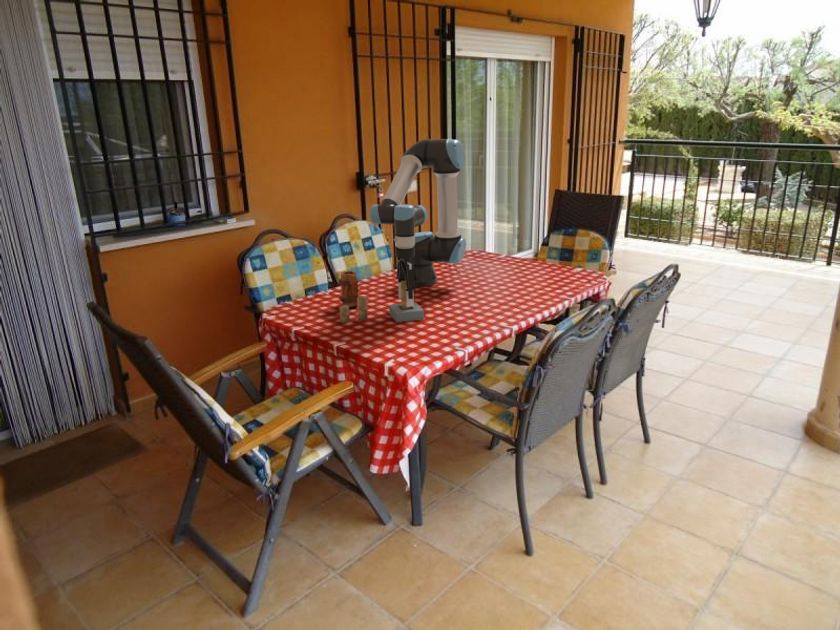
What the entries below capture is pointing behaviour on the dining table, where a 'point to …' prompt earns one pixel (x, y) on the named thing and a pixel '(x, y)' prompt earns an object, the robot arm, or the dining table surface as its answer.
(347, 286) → the mug
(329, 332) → the dining table surface
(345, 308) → the dowel short
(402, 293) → the dowel long
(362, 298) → the dowel medium
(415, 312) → the hole block
